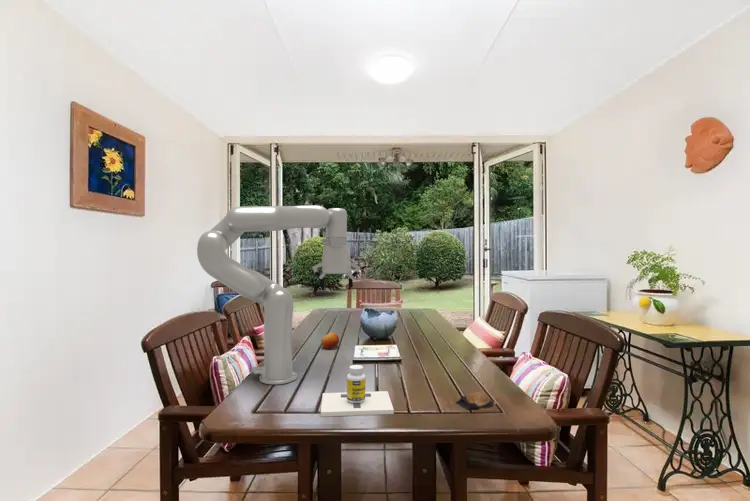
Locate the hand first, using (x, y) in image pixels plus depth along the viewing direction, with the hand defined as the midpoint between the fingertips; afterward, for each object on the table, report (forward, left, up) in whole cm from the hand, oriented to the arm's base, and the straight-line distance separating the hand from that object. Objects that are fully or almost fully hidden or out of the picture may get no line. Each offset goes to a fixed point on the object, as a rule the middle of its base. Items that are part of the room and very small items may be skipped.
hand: (336, 289), depth 146 cm
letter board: (+6, -30, -30) cm, 43 cm away
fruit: (-3, +35, -31) cm, 47 cm away
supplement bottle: (+6, -30, -29) cm, 42 cm away
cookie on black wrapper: (+41, -32, -31) cm, 61 cm away
